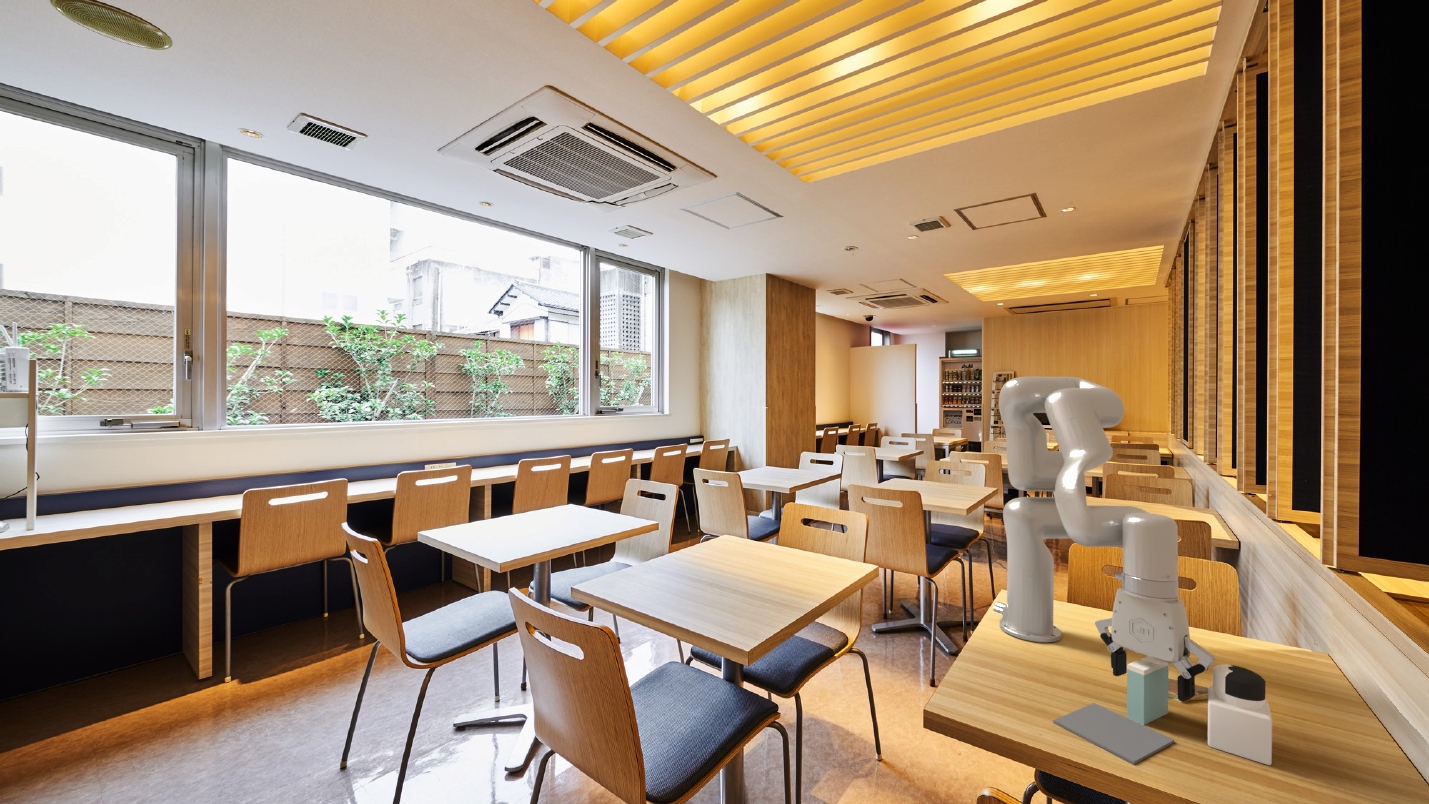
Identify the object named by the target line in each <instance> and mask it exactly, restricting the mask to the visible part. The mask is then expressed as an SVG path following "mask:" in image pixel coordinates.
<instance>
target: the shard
mask: <svg viewBox="0 0 1429 804" xmlns="http://www.w3.org/2000/svg"><path fill="white" fill-rule="evenodd" d="M1168 699H1172V700H1174V701H1176V702H1179V703H1182V704H1183V703H1186V702H1188V701H1196V700H1197V701H1198V700H1199V701H1201V700H1208V686H1207V687H1206V686H1202V685H1198V684H1195V695H1194V697H1192V698H1191V699H1189V700H1187V701H1185V702H1182V701H1179V699H1178V683H1177V679H1173V678H1169V677H1168Z"/></svg>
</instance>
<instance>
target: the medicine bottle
mask: <svg viewBox="0 0 1429 804" xmlns="http://www.w3.org/2000/svg"><path fill="white" fill-rule="evenodd" d="M1266 687H1267V686H1266V680H1265V679H1264V678H1263V676H1262V675H1260V674H1259V673H1257V672H1255V671H1254V670H1253V671H1252V670H1251V669H1248V668H1246V667H1244V666H1243V667H1242V666H1239V665H1235V664H1217V665H1215V666H1213V668H1212V685H1209V686H1207V688H1208V699H1207V746H1208V747H1210V748H1213V749H1215V750H1216V749H1217V750H1219V751H1223V752H1225V753H1228V754H1231V755H1235V756H1238V757H1241V758H1244V759H1248V760H1250V761H1254V762H1257V763H1260V764H1263V765H1267V766H1271V765H1272V763H1273V762H1272V761H1273V760H1272V757H1273V756H1272V754H1273V751H1272V750H1273V745H1272V744H1273V718H1272V714H1271V709H1270V703H1269V701H1268V700H1266Z"/></svg>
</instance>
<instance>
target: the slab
mask: <svg viewBox="0 0 1429 804" xmlns="http://www.w3.org/2000/svg"><path fill="white" fill-rule="evenodd" d="M1126 675H1127V676H1126V677H1127V678H1126V679H1127V680H1126V682H1127V683H1126V684H1127V685H1126V687H1127V688H1126V689H1127V690H1126V691H1127V692H1126V718H1128V719H1130V720H1132V721H1135V722H1137V723H1139V724H1141V725H1143V726H1145V725H1147V724H1149V723H1151V722H1154V721H1155V720H1157V719H1159V718H1161V717H1163V716H1165V715H1167V714H1169V697H1168V678H1169V663H1168V662H1164V661H1161V660H1158V659H1155V658H1152V657H1149V656H1146V657H1145V656H1144V657H1143V658H1140V659H1137V660H1135V661H1132V662H1130V663H1127V673H1126Z"/></svg>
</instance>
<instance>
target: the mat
mask: <svg viewBox="0 0 1429 804" xmlns="http://www.w3.org/2000/svg"><path fill="white" fill-rule="evenodd" d="M1052 722H1053V724H1055V725H1057V726H1059V727H1061V728H1063V729H1064V730H1067V731H1069V732H1071V733H1072V734H1073V735H1076V736H1079V738H1082V739H1084V740H1086V741H1088V742H1089V743H1092V744H1094V745H1095V746H1097V747H1099V748H1101V749H1103V750H1105V751H1107V752H1109V753H1111V754H1112V755H1114V756H1116V757H1118V758H1120V759H1122V760H1124V761H1126V762H1127V763H1130V764H1132V765H1135V764H1137V763H1139V762H1141V761H1143V760H1144V759H1146V758H1149V757H1150V756H1153V754H1156V753H1157V752H1159V751H1161V750H1163V749H1165V748H1167V747H1168V746H1170V745H1172V744H1174V743H1175V739H1173V738H1172V737H1169V736H1167V735H1165V734H1162V733H1161V732H1158V731H1156V730H1154V729H1152V728H1150V727H1148V726H1145V725H1142V724H1140V723H1138V722H1135V721H1133V720H1131V719H1129V718H1127V716H1123V715H1121V714H1119V713H1117V712H1116V711H1113V710H1111V709H1108V708H1106V707H1104V706H1102V705H1099V704H1097V703H1096V702H1093V703H1091V704H1089V705H1086V706H1084V707H1081V708H1079V709H1076V710H1074V711H1072V712H1070V713H1067V714H1065V715H1062V716H1059V717H1057V718H1056V719H1053V721H1052Z"/></svg>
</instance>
